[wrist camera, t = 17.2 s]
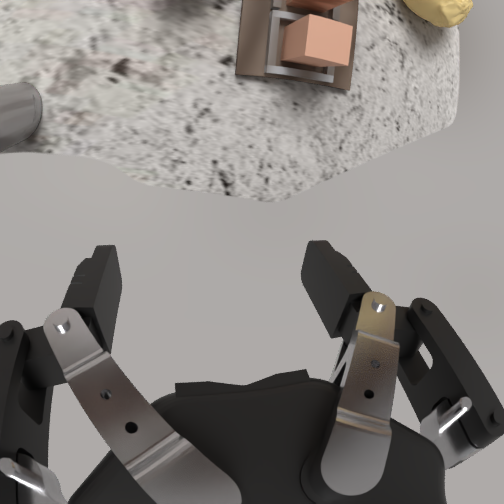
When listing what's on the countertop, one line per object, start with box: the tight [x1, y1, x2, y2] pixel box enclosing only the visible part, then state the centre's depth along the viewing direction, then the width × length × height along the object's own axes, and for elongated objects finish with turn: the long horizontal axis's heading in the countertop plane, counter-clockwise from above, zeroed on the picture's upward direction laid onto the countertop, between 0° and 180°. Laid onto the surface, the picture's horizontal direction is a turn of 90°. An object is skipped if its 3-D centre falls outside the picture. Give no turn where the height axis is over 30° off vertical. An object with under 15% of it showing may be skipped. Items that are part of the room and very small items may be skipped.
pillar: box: [280, 14, 353, 67], centre depth 26 cm, size 5×5×9 cm
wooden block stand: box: [235, 0, 358, 90], centre depth 24 cm, size 16×18×10 cm
